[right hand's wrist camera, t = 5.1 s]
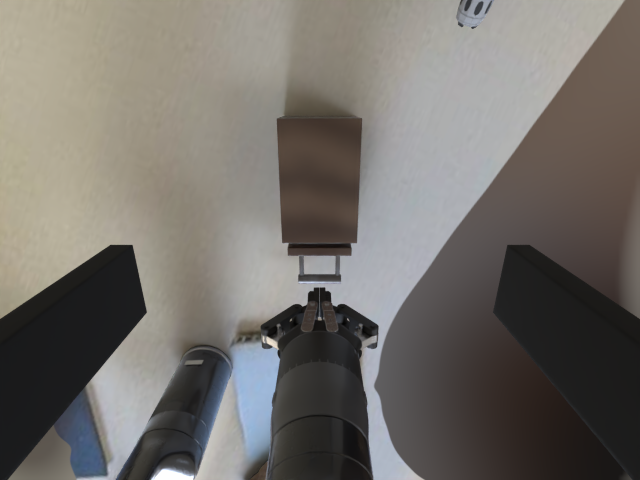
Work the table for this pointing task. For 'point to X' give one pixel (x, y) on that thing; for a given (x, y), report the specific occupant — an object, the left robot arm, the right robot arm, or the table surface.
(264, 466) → the stone
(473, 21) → the robot
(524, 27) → the table surface
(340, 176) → the cabinet
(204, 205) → the table surface
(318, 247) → the drawer
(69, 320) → the right robot arm
